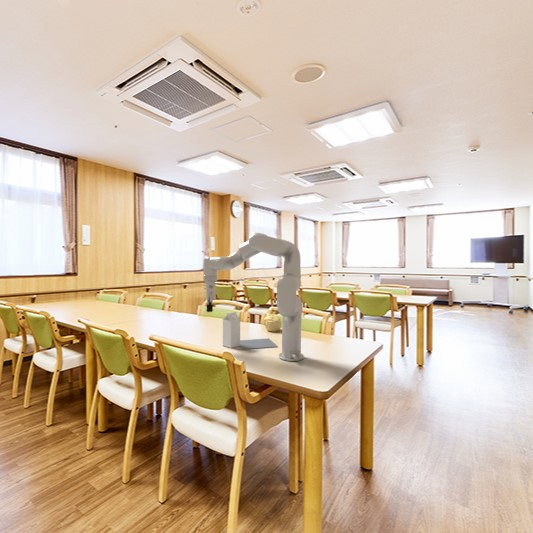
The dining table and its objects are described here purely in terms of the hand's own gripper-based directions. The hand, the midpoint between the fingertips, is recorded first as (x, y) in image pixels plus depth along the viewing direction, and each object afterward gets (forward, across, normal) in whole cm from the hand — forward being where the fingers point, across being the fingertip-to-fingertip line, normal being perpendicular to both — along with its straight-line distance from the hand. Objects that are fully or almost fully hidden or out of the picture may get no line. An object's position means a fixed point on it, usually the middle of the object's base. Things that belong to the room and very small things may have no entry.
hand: (209, 311), depth 171 cm
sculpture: (+20, +30, -47) cm, 59 cm away
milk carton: (+20, 0, -13) cm, 24 cm away
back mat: (+20, 0, -28) cm, 34 cm away
